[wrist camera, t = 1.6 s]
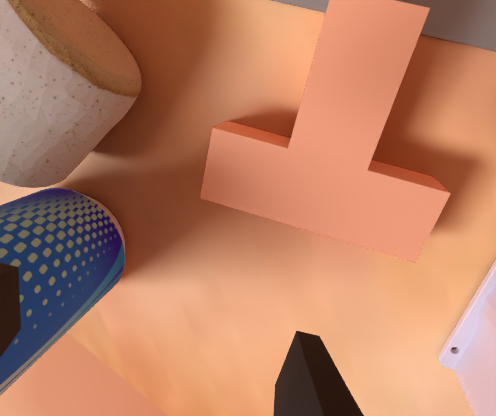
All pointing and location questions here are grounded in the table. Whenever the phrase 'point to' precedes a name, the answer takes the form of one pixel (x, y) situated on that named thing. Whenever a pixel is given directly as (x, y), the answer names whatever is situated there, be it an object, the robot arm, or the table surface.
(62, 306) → the beer can
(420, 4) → the T pad
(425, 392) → the table surface
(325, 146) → the T block
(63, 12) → the ceramic mug
